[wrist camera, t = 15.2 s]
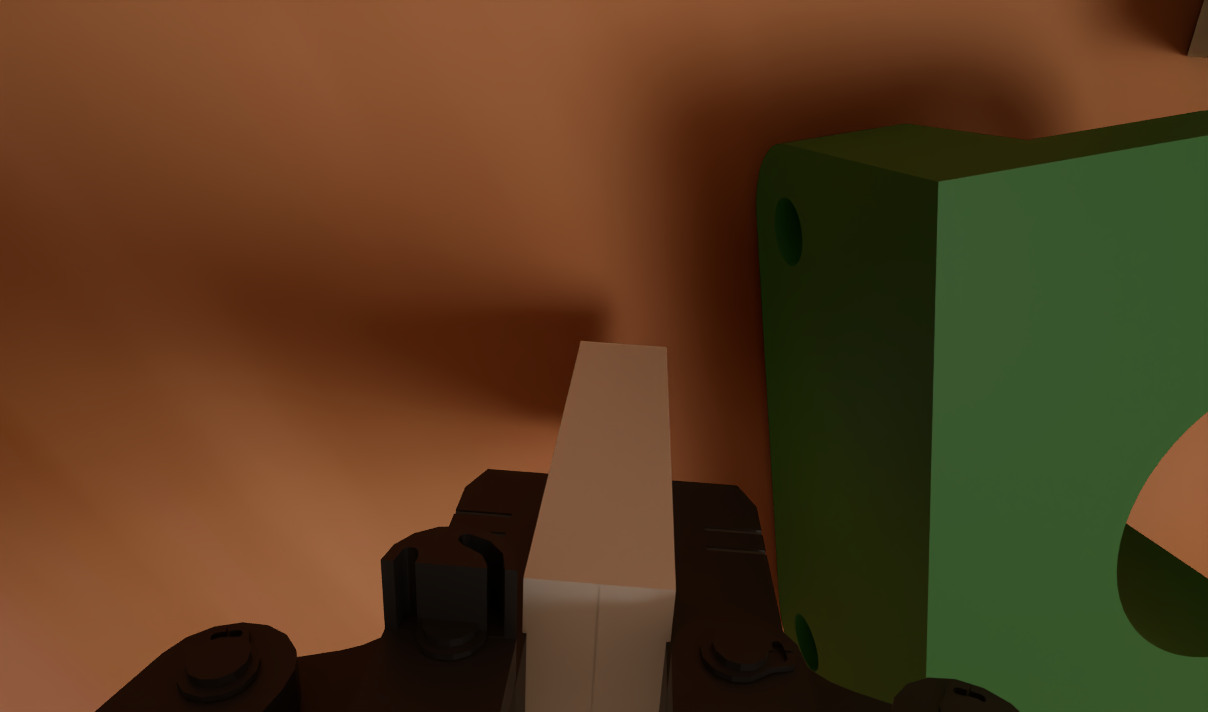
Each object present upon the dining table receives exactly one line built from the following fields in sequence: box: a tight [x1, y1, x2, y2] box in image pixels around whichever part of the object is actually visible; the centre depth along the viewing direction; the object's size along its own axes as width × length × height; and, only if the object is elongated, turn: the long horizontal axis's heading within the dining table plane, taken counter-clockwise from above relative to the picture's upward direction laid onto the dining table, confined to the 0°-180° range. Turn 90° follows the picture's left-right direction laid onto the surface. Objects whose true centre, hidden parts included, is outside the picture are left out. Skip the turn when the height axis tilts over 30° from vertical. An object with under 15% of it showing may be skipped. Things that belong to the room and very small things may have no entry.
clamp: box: [756, 110, 1208, 712], centre depth 13 cm, size 12×6×9 cm, turn 2°
